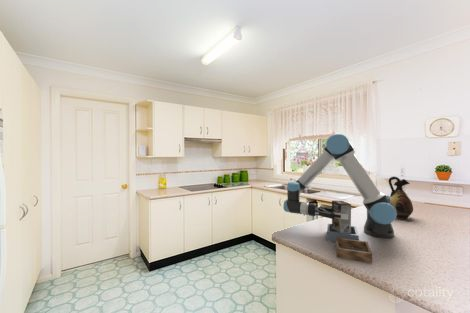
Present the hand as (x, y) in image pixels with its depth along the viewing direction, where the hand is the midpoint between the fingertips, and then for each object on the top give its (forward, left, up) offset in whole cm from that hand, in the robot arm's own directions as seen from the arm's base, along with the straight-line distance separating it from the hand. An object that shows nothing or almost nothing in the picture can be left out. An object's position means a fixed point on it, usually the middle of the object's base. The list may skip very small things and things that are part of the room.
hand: (349, 214), depth 119 cm
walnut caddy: (0, +18, -14) cm, 23 cm away
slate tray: (+4, -1, -14) cm, 14 cm away
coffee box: (+4, -1, -10) cm, 11 cm away
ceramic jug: (-35, -59, -14) cm, 70 cm away
